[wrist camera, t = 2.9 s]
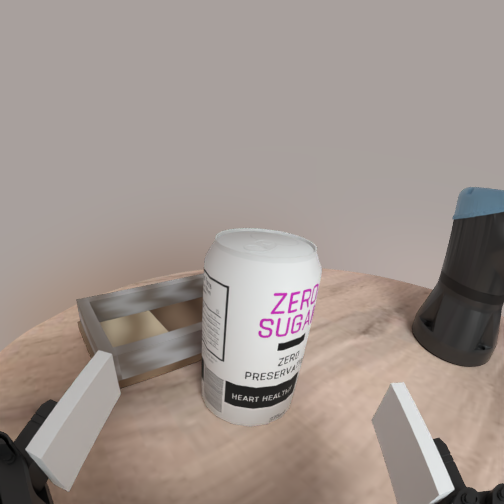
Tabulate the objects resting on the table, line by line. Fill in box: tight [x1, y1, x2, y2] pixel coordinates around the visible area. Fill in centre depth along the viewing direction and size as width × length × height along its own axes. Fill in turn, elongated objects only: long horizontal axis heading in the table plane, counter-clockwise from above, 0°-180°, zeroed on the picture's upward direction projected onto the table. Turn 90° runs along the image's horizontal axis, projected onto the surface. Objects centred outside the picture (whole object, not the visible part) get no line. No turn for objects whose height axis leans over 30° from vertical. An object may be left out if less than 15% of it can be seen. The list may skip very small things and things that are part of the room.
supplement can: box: [202, 228, 322, 426], centre depth 22 cm, size 8×8×15 cm
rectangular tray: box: [77, 274, 204, 388], centre depth 34 cm, size 26×12×4 cm, turn 132°
